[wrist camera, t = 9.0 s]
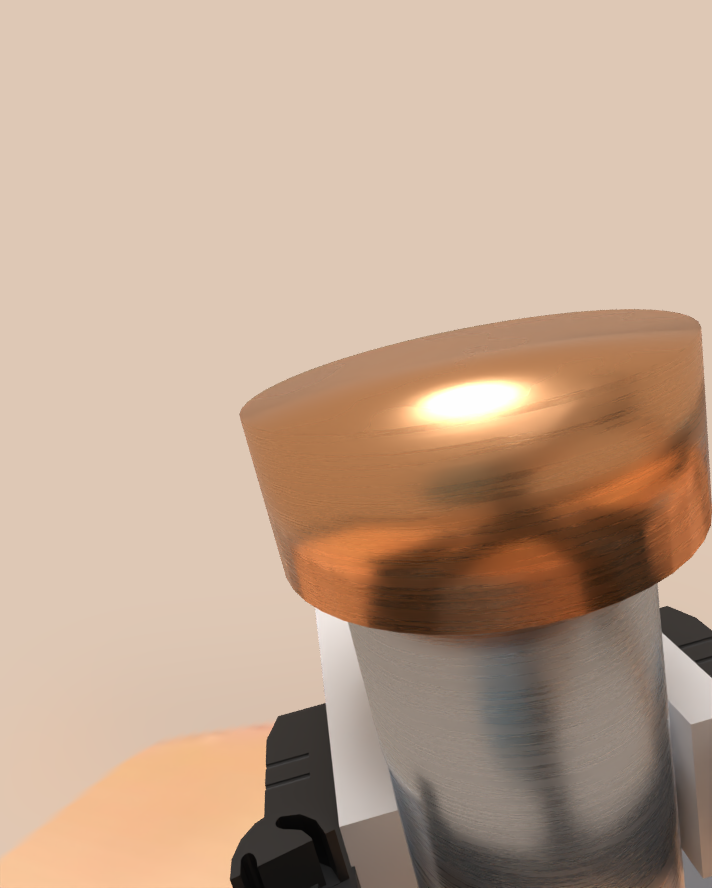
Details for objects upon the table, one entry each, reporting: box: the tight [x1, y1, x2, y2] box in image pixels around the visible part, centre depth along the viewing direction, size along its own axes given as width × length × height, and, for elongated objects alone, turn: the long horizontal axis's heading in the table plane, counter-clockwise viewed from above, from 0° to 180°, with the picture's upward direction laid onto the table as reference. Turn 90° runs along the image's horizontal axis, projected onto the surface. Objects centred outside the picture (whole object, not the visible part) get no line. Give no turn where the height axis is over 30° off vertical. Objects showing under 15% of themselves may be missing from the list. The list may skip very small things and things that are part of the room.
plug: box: [240, 309, 712, 888], centre depth 9 cm, size 5×5×16 cm
